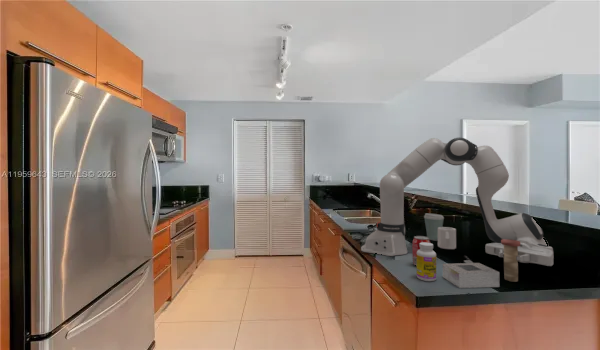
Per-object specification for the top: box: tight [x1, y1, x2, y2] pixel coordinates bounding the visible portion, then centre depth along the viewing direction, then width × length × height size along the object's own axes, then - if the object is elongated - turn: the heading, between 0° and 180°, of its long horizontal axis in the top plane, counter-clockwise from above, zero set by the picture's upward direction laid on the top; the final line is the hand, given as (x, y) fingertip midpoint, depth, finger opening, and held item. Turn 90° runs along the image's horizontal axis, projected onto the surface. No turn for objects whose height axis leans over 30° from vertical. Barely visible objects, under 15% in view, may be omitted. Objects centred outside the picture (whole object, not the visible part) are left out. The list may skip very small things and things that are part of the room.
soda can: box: [411, 235, 431, 267], centre depth 116 cm, size 7×7×12 cm
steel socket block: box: [442, 262, 501, 289], centre depth 98 cm, size 14×10×5 cm
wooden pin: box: [501, 239, 520, 283], centre depth 100 cm, size 6×6×14 cm
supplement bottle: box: [416, 242, 437, 282], centre depth 102 cm, size 7×7×13 cm
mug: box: [437, 226, 457, 250], centre depth 144 cm, size 12×9×10 cm
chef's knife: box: [462, 254, 474, 263], centre depth 120 cm, size 19×1×3 cm
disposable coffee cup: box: [423, 213, 445, 242], centre depth 163 cm, size 11×11×15 cm
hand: (509, 256), depth 100 cm, fingers closed on wooden pin, 4 cm apart
